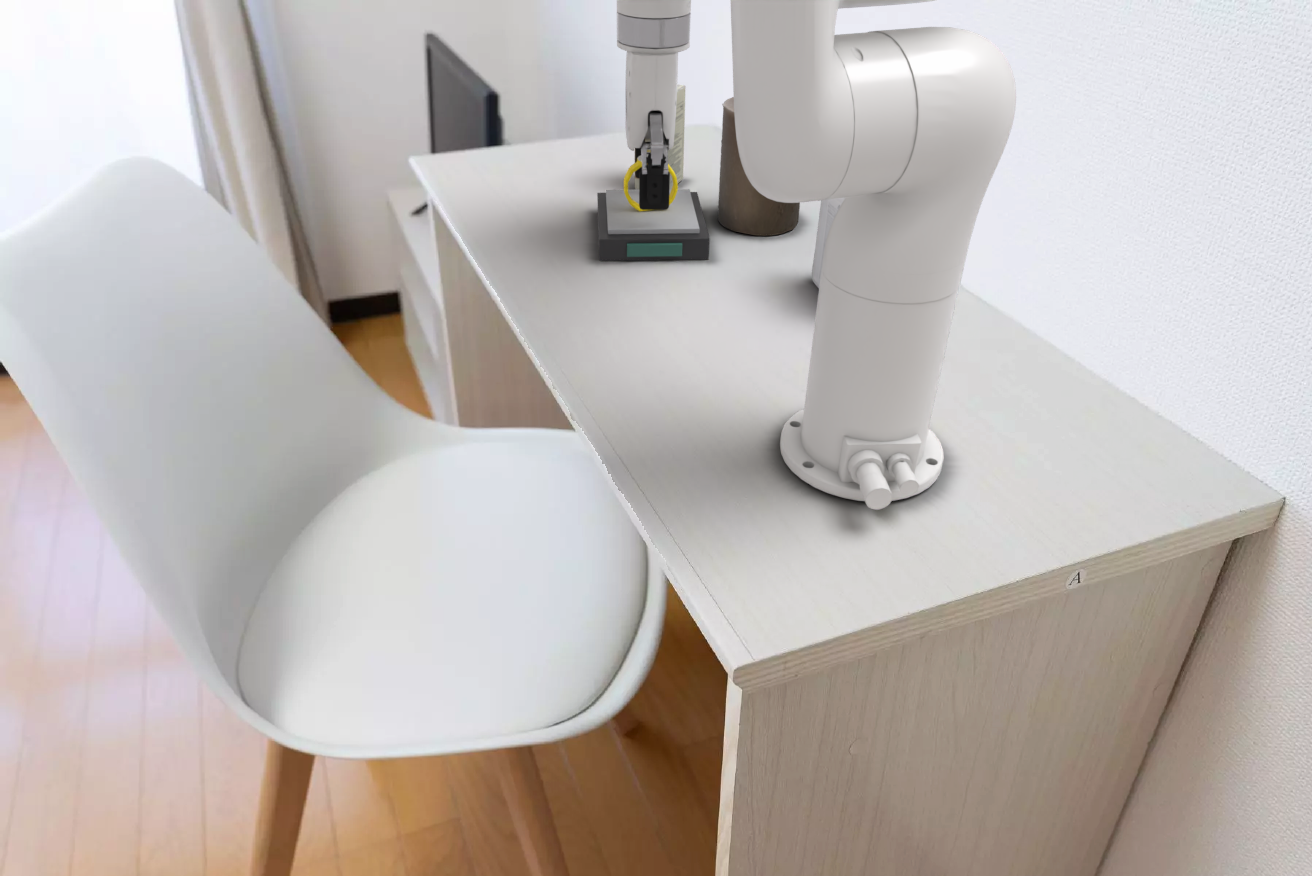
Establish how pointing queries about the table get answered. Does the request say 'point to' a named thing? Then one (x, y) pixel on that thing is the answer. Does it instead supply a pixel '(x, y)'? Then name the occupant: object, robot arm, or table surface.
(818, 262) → the photo printer
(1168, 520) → the table surface
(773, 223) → the pillar candle
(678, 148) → the cosmetic box
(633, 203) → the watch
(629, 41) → the robot arm
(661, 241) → the scale
